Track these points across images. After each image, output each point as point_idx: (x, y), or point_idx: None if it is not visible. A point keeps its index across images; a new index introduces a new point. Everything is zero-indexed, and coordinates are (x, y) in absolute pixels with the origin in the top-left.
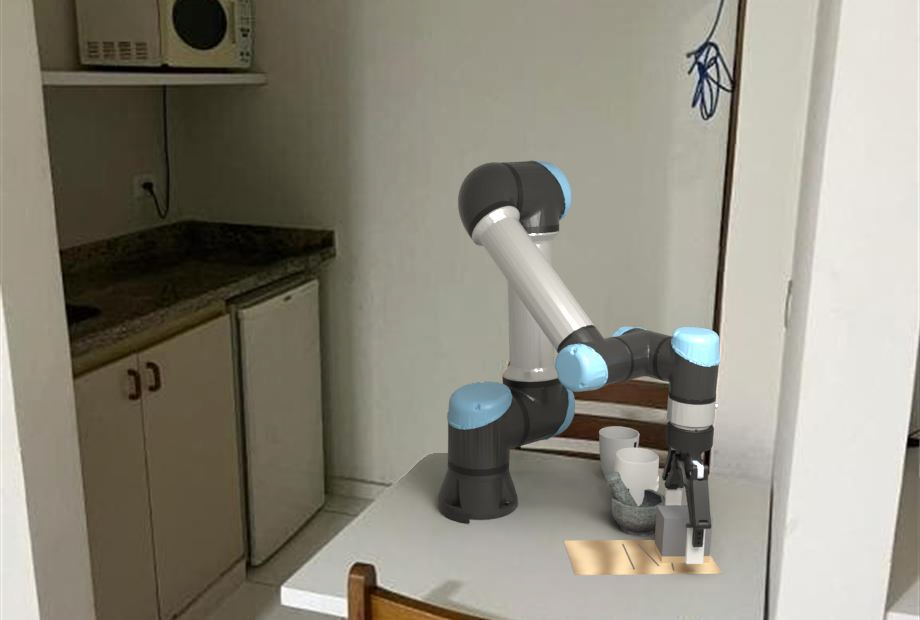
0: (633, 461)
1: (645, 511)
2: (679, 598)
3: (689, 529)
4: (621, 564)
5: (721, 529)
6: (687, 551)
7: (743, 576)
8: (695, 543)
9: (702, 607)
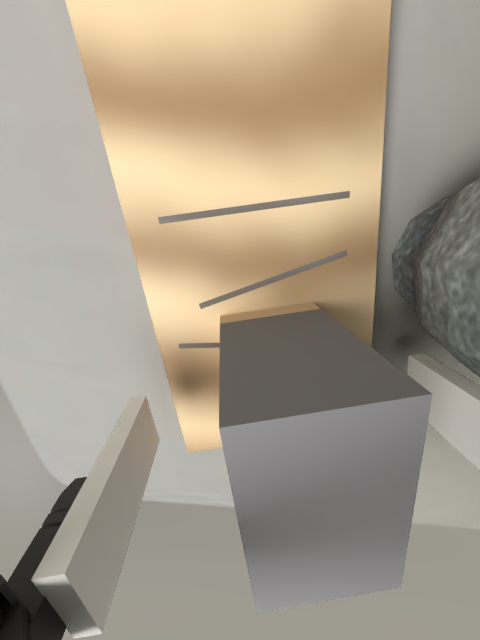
0: None
1: (470, 301)
2: (57, 342)
3: (47, 554)
4: (188, 172)
5: (430, 459)
6: (110, 434)
7: (211, 478)
8: (57, 505)
9: (30, 390)
